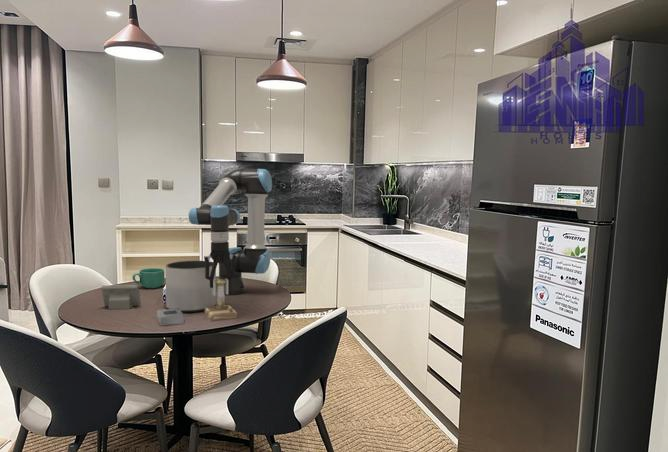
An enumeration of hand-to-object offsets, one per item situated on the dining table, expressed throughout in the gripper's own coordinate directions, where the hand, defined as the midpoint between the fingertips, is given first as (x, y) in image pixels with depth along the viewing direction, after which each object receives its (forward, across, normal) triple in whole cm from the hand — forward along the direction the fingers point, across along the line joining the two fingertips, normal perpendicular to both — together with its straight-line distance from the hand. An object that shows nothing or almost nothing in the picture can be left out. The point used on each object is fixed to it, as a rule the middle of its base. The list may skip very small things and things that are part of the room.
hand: (220, 294), depth 211 cm
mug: (+9, -23, +69) cm, 73 cm away
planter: (+10, -9, +19) cm, 23 cm away
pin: (+6, 0, 0) cm, 6 cm away
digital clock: (+10, -38, +32) cm, 50 cm away
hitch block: (+9, -21, 0) cm, 23 cm away
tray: (+9, 0, 0) cm, 9 cm away
